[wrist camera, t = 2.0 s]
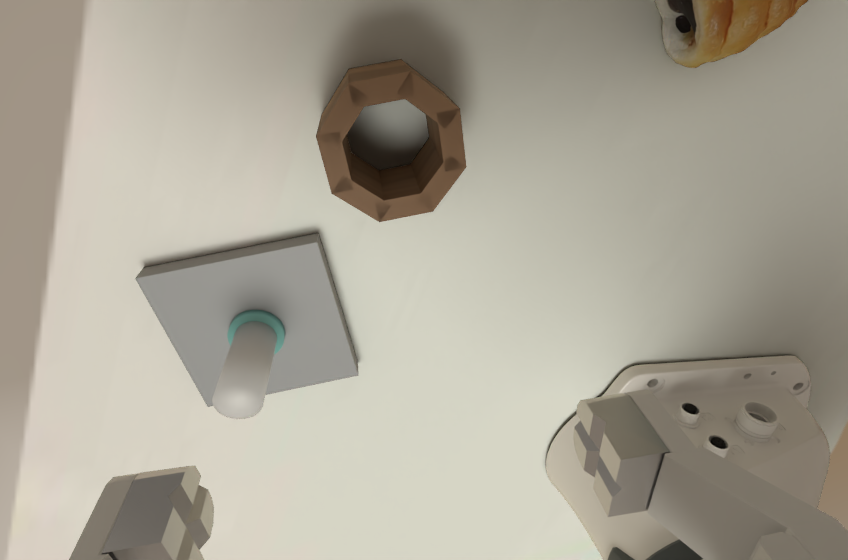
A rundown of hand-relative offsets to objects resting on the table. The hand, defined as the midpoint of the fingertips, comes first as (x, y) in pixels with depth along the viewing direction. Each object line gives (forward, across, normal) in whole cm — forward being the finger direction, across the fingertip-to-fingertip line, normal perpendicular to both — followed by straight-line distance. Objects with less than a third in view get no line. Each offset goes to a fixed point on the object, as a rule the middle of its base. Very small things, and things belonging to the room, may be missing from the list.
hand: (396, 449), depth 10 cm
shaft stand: (+18, +8, +8) cm, 22 cm away
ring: (+18, -2, -2) cm, 18 cm away
